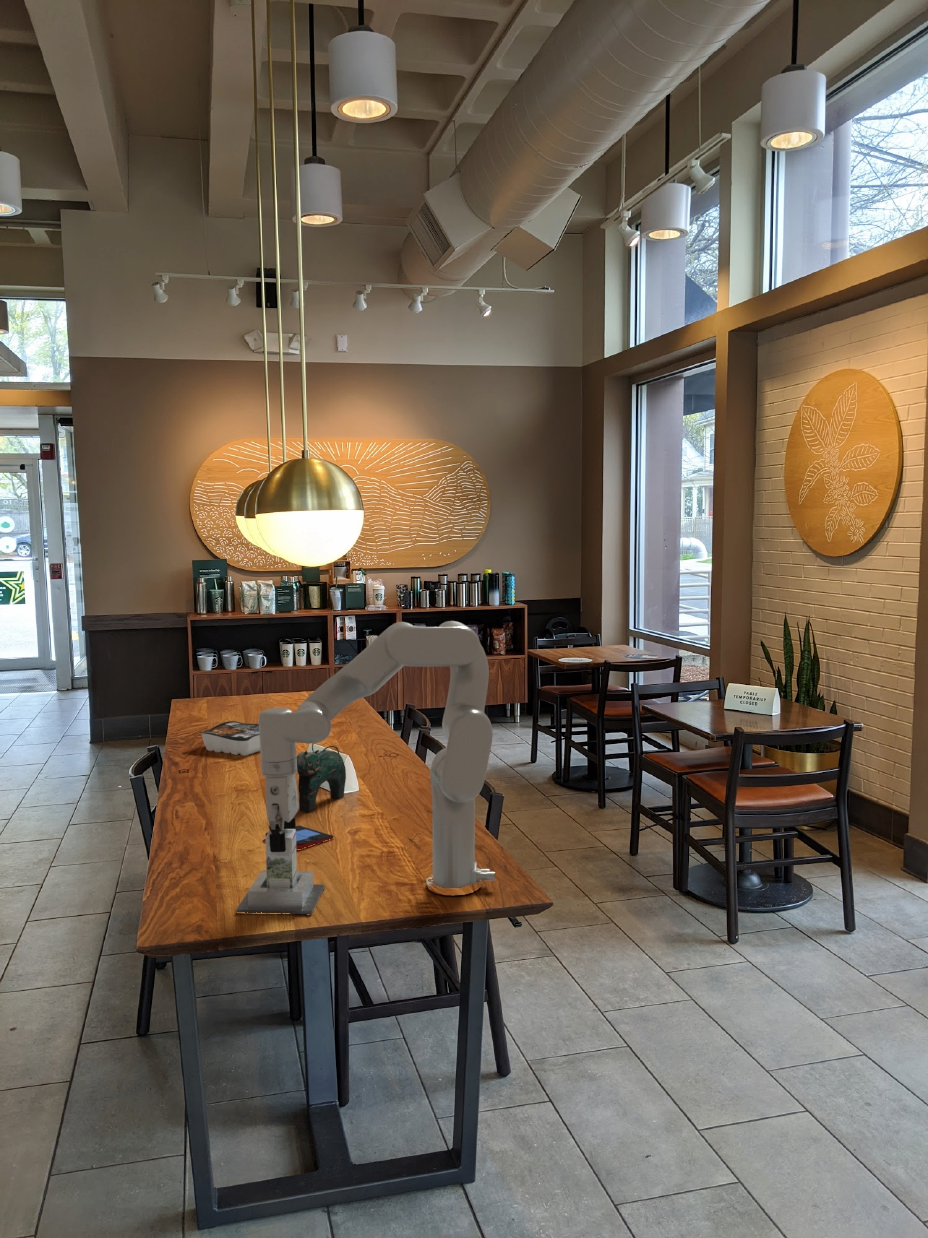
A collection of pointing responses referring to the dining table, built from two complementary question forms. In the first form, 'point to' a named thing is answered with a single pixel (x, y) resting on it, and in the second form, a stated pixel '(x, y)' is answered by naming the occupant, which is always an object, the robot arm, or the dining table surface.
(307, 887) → the grey holder base
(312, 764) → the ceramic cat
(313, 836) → the game console
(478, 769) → the robot arm
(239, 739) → the food packaging
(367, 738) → the dining table surface
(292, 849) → the syrup box
